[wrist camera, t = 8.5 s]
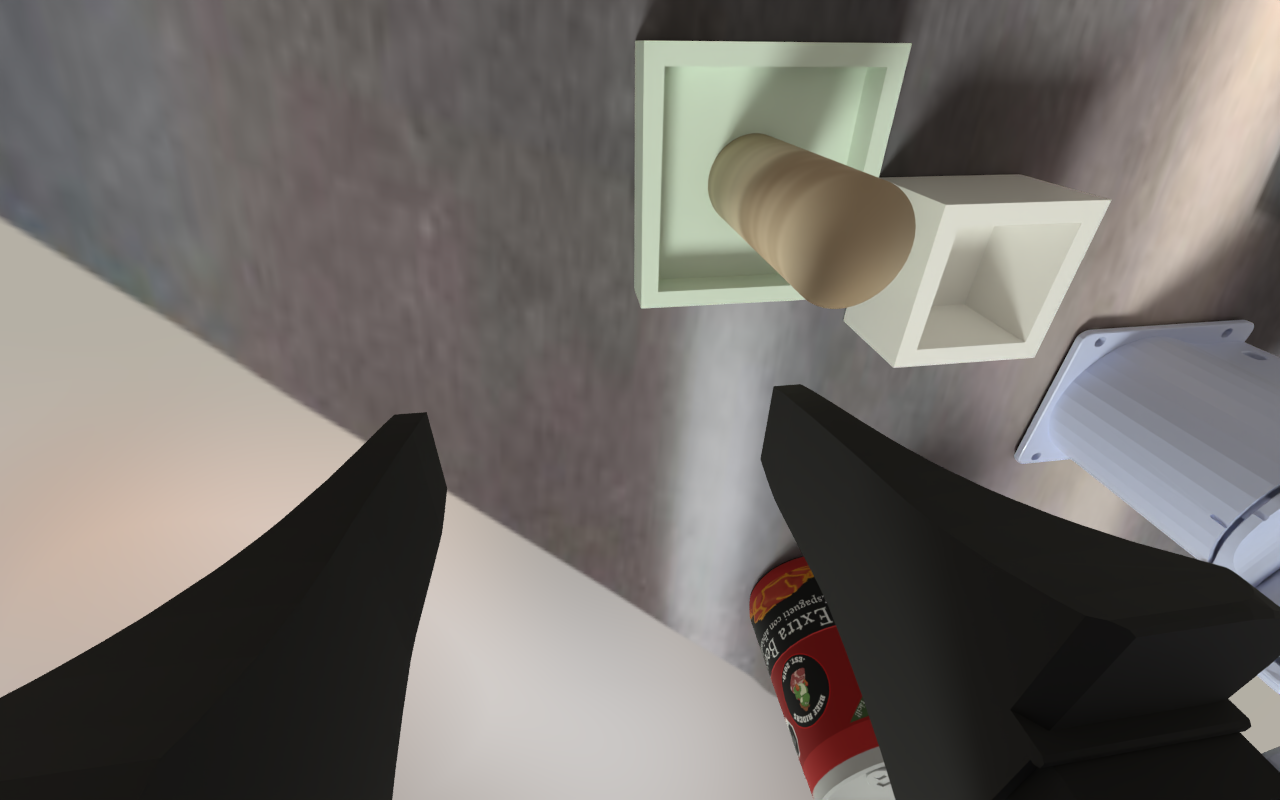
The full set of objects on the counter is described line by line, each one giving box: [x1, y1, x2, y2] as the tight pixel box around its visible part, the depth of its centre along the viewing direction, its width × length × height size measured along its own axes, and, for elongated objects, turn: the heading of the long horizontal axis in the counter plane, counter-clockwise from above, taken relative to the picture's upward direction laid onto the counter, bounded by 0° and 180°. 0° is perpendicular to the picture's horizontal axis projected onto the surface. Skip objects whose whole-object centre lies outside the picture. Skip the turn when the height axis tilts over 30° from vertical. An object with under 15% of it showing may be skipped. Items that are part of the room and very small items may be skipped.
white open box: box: [844, 174, 1111, 368], centre depth 20 cm, size 6×6×4 cm
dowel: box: [708, 133, 916, 309], centre depth 15 cm, size 3×3×8 cm
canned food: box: [750, 557, 895, 800], centre depth 29 cm, size 8×8×11 cm
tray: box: [634, 41, 912, 308], centre depth 18 cm, size 8×8×2 cm
